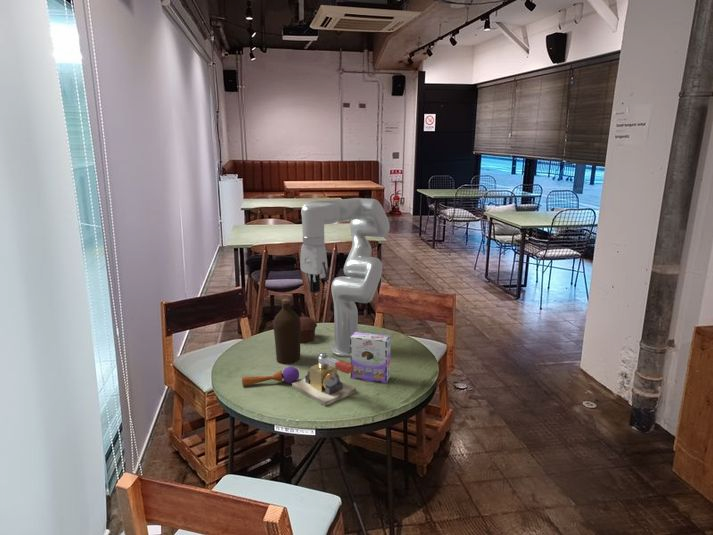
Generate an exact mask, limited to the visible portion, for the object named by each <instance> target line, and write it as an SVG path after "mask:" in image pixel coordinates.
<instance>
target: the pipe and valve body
mask: <svg viewBox="0 0 713 535" xmlns="http://www.w3.org/2000/svg"><path fill="white" fill-rule="evenodd" d="M304 378H305V382H306V383H308V384H310V385H311V387H313V388H315V389H317V390H319V391H321V392H323V391H325V392H326V394H328V395H331V394H333V393H335V392H338V391H340V390H342V389H343V383H342V382H340V380H341V379H340V376H339V374H338V370H337V369H335V367H333V366H331V365H328V367H326V368H320V367H319V363H316V364H313V365H312V366H310V367H309V370H307V374H306V375H305V376H304Z"/></svg>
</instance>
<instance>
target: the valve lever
mask: <svg viewBox="0 0 713 535" xmlns="http://www.w3.org/2000/svg"><path fill="white" fill-rule="evenodd" d="M318 364H319V367H320V368H326V367H328V365H331V366H333V367H335V369H337V371H340V372H342V373H344V374H347V375H348V374H351V372H353V371H354V366H353V365H352V364H351V362H350V363H349V362H347V361H344V360H338V359H336V358H333V357H330V356H328V355H327V353H326V352H321V353H319V355H318Z"/></svg>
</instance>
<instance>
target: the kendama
mask: <svg viewBox="0 0 713 535" xmlns="http://www.w3.org/2000/svg"><path fill="white" fill-rule="evenodd" d="M299 378H300V372H299V370H298V368H296V367H295V366H292V365H291V366H287V367H285V368H284V369H283V371H282V370H279V371H278V372H276V373H275V374H273V375H268V376H265V375H263V376H242V377H241V383H242V387H247V386H250V385H255V384H259V383H262V382H266V381H270V380H274V381H278V382H280V383H283V381H284V382H285V383H287V384H292V383H295V382H297V381H299Z"/></svg>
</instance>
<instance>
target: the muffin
mask: <svg viewBox="0 0 713 535" xmlns="http://www.w3.org/2000/svg"><path fill="white" fill-rule="evenodd" d="M299 318H300V322H301V331H300V344H302V345H303V344H304V345H305V344H310V343H312V342H313V341H315V334H316V328H317V325H318V324H317V322H316V321H315V319H313V318H311V316H310V317H309V316H299Z"/></svg>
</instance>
